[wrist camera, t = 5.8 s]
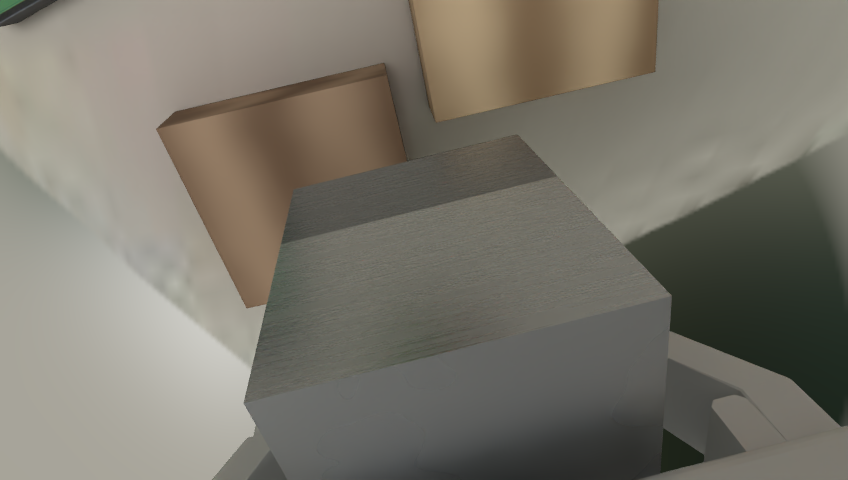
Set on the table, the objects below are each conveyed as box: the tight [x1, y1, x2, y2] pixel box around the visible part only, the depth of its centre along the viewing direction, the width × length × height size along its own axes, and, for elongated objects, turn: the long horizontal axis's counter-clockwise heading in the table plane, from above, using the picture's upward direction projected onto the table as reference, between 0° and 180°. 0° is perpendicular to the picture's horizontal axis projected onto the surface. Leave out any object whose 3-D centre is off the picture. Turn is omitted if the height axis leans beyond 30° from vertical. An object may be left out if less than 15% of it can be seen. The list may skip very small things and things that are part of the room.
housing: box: [244, 135, 672, 480], centre depth 10 cm, size 5×8×6 cm, turn 12°
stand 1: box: [156, 63, 407, 308], centre depth 30 cm, size 12×12×3 cm
